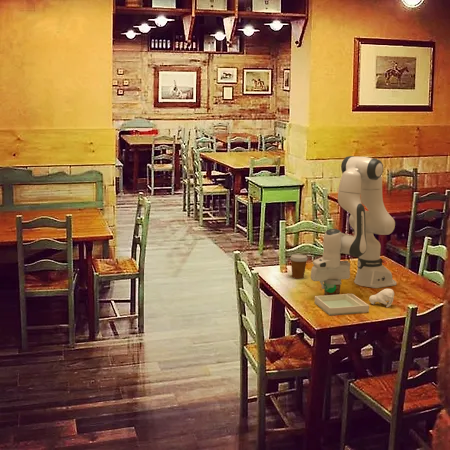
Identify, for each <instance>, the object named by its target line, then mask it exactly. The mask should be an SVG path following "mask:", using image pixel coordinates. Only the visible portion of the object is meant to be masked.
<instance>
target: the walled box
mask: <svg viewBox="0 0 450 450" xmlns="http://www.w3.org/2000/svg"><path fill="white" fill-rule="evenodd" d="M314 304H315V305H316V306H317V305H318V306H317V307H319V308H320V309H321V310H322V311H323V312H324V313H326V314H327V315H329V316H340V315H351V314H353V315H354V314H355V315H356V314H364V313H367V312H368V313H369V312H370V311H369V310H370V304H369V303H366V302H365V301H364V300H362V299H361V298H359V297H358V296H356V295H355V294H354V293H343V294H342V293H340V295H325V296H324V295H315V296H314Z"/></svg>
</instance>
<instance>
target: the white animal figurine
mask: <svg viewBox="0 0 450 450" xmlns="http://www.w3.org/2000/svg"><path fill="white" fill-rule="evenodd" d="M394 297H395V292H394V290H393V289H392V288H384V289H382V290H381V291H379V292H377V293H376V294H371V295H370V296H369V300H368V301H369V302H370V304H371V305H375V304H376V303H381V304H382V305H385V308H390V307H391V305H392V304H393V302H394Z"/></svg>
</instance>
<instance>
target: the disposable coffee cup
mask: <svg viewBox="0 0 450 450" xmlns="http://www.w3.org/2000/svg"><path fill="white" fill-rule="evenodd" d="M289 259H290V264H291V265H290V266H291V267H290V268H291V276H292V278H293V279H297V280H299V279H301V280H302V279H304V276H305V272H306V265H307V261H308V256H307V255H305V254H301V253H294V254H291V256H290V258H289Z"/></svg>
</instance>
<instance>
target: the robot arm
mask: <svg viewBox="0 0 450 450" xmlns="http://www.w3.org/2000/svg"><path fill="white" fill-rule="evenodd" d="M340 167H341V168H340V169H341V173H342V174H341V177H340V182H339V186H338V191H337V203H338V205H339V206H340V207H341V208H342V209H343V210H345V211H346V212H348V213H349V214H350V216H349V218H348V220H349V221H348V222H349V223H348V224H349V225H350V227H351V228H352V229H353V230H354V235H351V234H347V233H344V232H342V231H341V230H340V229H338V228H330V229H329V228H328V229H327V230H326V231H325V233H324V236H323V243H322V247H323V253H322V256H321V257H318V258H317V259H314V260H313V261H312V264H313V265H312V267H311V270H310V279H311V280H312V281H313V282H319V283H320V285H321V289H322V290H324V289H325V287H326V286H325V285H324V281H326V280H327V279H329V280H341V281H342V280H349V279H350V278H351V270H350V269H351V263H350V261H348V260H341V253H342V254H345V255H348V256H349V255H350V256H352V257H354V258H357V269H356V275H355V279H354V280H353V283H354V284H356V285H358V286H360V287H361V286H362V287H367V288H372V289H378V288H385V287H393V286H397V281H396V280H395V279H393V274H392V272H391V270H390V269H388V268H387V267H386V266H385V265H384V264H386V263H387V260H386V259H383V258H381V248H382V246H381V242H380V241H379V240H378V239H377V238H376V237H375V236H374V234H375V235H380V236H381V235H382V236H383V235H384V236H385V235H390V234H392V233H393V232H394V231H395V228H396V227H395V226H396V221H395V219H394V218H393V216H391V215H390V213H389V212H388V211H387V208H386V206H385V203H384V200H383V179H382V175H383V173H384V164H383V162H382V161H381V160H380V159H377V158H375V157H374V158H372V157H369V156H354V155H349V156H346V157H344V158H343V160H342V161H341V165H340ZM365 208H366V209H367V210H366V209H365Z"/></svg>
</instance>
